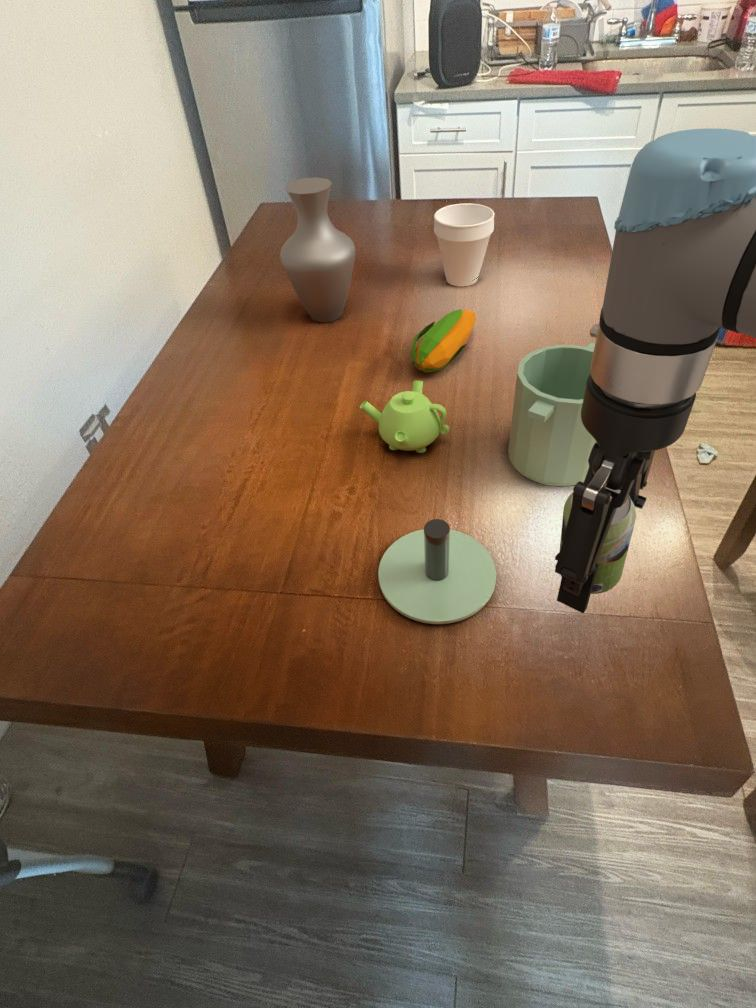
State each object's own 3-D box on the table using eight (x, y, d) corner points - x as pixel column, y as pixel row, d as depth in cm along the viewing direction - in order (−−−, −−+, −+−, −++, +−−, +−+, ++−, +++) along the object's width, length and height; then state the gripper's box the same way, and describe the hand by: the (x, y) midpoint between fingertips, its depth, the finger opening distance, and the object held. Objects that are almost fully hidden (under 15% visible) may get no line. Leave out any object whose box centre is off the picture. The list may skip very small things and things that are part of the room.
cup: (423, 275, 134) (422, 211, 125) (471, 262, 137) (474, 198, 128) (451, 297, 126) (452, 231, 116) (501, 283, 129) (506, 216, 120)
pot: (624, 436, 92) (648, 352, 82) (570, 511, 82) (589, 427, 72) (542, 407, 98) (554, 326, 88) (482, 474, 88) (488, 392, 78)
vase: (318, 340, 118) (297, 206, 100) (278, 315, 126) (252, 186, 108) (375, 313, 124) (365, 182, 106) (334, 291, 132) (318, 165, 114)
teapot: (460, 445, 93) (462, 400, 87) (398, 474, 90) (395, 429, 84) (420, 409, 100) (419, 365, 94) (360, 435, 97) (355, 391, 91)
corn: (399, 337, 102) (455, 286, 113) (398, 374, 107) (452, 323, 119) (438, 350, 99) (491, 297, 110) (435, 388, 105) (486, 334, 116)
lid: (517, 565, 76) (524, 515, 70) (455, 648, 69) (457, 601, 62) (421, 518, 83) (420, 468, 77) (355, 589, 75) (347, 541, 69)
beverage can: (626, 564, 61) (655, 477, 53) (605, 618, 57) (633, 532, 49) (565, 543, 64) (583, 457, 56) (541, 593, 60) (557, 508, 51)
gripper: (642, 309, 51) (594, 501, 67) (529, 438, 40) (505, 630, 56) (737, 331, 47) (663, 528, 63) (641, 479, 37) (582, 671, 53)
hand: (589, 576), depth 60 cm, fingers closed on beverage can, 7 cm apart
